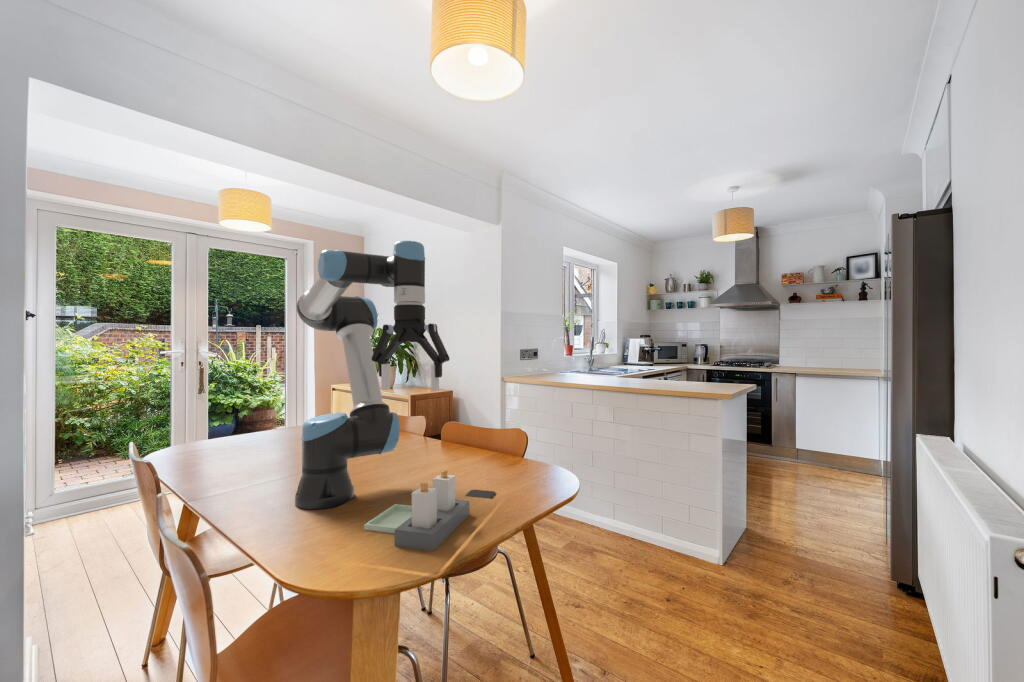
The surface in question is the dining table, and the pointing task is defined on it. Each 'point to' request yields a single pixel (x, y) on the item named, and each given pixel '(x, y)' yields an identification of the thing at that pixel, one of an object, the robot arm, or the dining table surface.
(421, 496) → the plug
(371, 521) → the tray
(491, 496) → the smartphone
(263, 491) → the dining table surface
